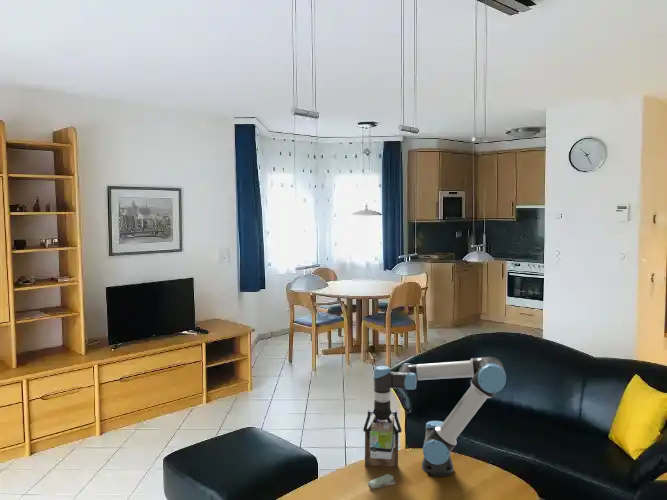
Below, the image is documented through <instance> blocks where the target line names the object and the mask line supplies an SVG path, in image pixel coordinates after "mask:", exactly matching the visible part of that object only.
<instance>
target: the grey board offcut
mask: <svg viewBox="0 0 667 500" xmlns="http://www.w3.org/2000/svg"><path fill="white" fill-rule="evenodd" d="M392 485H396V480H395V478H393V480H391V481H389V482H387V483H384V484H382V485H379V486H377V487H375V488H374V487H372V486H370V485H369V484H368V487H369V488H371V490H374V489H379V488H382V487H388V486H392Z"/></svg>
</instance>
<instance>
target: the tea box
mask: <svg viewBox="0 0 667 500" xmlns="http://www.w3.org/2000/svg"><path fill="white" fill-rule="evenodd" d="M389 417H390V419H391V421H392V423H389V422H388V421H387V420H378V421H377V422H374V423H373V422H372V421H373V420H374V418H375V415H374V417H373V418H372V421H371V423H372V425H371V424H370V425H371V449H370V457H371V458H379V459H391V457H392V453H393V448H394V446H393V432H394V430H393V424H394V425H395V417H394V416H389Z"/></svg>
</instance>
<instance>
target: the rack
mask: <svg viewBox="0 0 667 500" xmlns="http://www.w3.org/2000/svg"><path fill="white" fill-rule="evenodd" d="M370 449H371V447H370V440H368V439H367V432H364V466H365V467H368V466H370V467H393V468H398V467H399V439H398V440H395V448H393V453H392V457H391V459H379V458H371V457H370Z"/></svg>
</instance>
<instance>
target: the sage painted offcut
mask: <svg viewBox="0 0 667 500" xmlns="http://www.w3.org/2000/svg"><path fill="white" fill-rule="evenodd" d="M393 479H394V476H393V475H391V474H389V473H385V474H384V475H381V476H379V477H377V478H374V479H372V480H370V481H368V486H369V485H370V486H372V487H374V488H375V487H377V486H379V485H382V484H384V483H387V482H389V481H391V480H393ZM375 489H376V488H375Z"/></svg>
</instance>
